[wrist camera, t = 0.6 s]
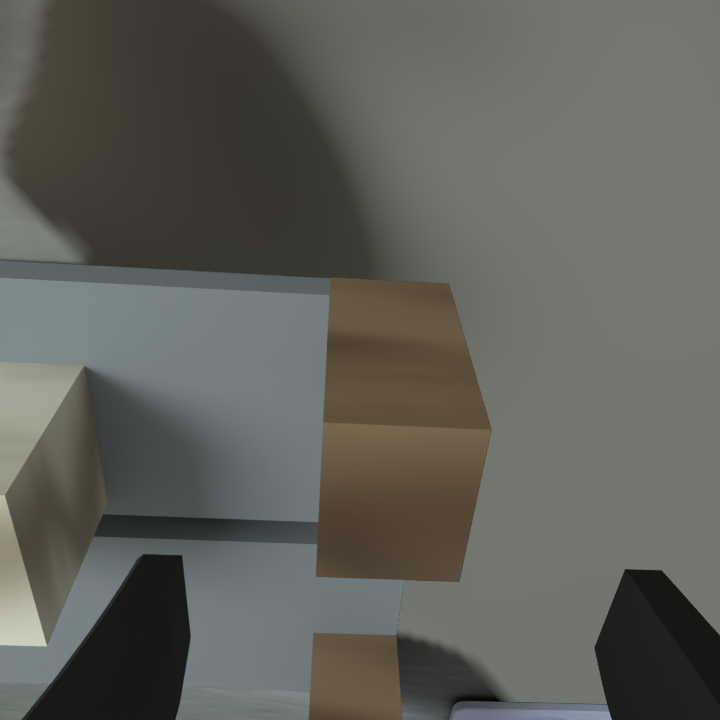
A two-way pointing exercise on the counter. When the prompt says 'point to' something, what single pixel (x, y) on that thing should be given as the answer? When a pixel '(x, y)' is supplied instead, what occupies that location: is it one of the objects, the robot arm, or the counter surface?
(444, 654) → the counter surface
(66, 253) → the counter surface
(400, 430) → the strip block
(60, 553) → the block
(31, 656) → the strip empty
